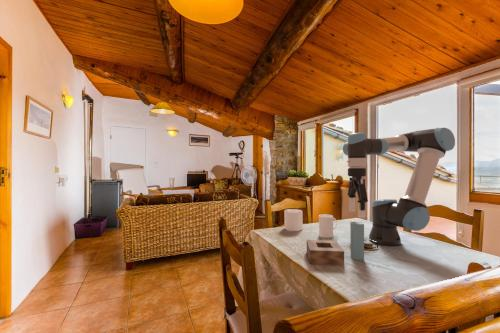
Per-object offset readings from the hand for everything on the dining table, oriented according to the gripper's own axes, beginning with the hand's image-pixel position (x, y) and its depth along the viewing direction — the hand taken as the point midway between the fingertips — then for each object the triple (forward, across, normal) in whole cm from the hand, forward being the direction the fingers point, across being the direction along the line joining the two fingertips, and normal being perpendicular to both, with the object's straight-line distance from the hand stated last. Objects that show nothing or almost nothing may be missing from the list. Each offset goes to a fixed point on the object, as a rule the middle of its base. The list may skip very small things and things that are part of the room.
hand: (356, 214), depth 108 cm
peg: (+20, 0, 0) cm, 20 cm away
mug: (+20, -33, -6) cm, 39 cm away
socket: (+20, +2, -15) cm, 25 cm away
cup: (+20, -46, -26) cm, 56 cm away
